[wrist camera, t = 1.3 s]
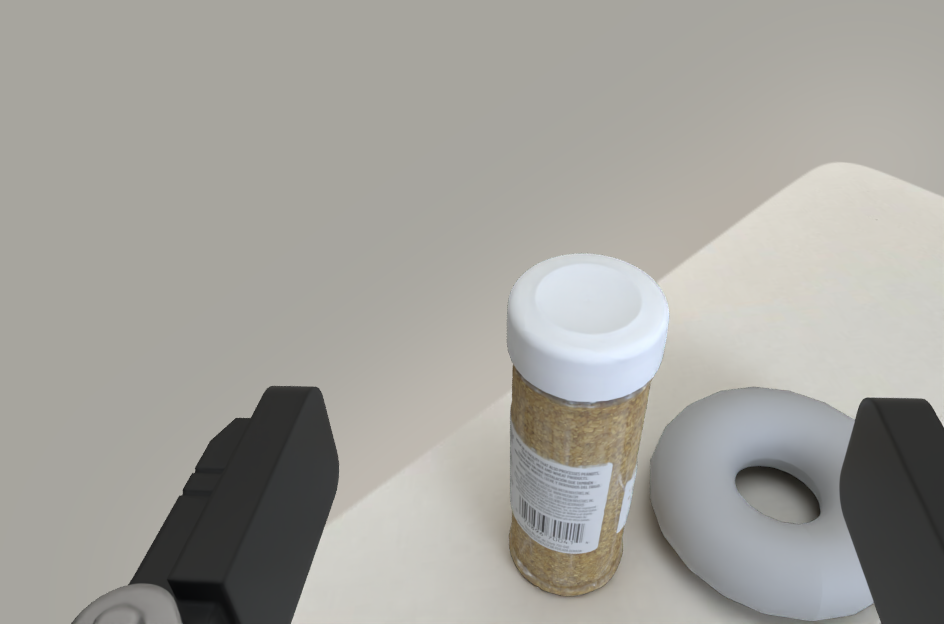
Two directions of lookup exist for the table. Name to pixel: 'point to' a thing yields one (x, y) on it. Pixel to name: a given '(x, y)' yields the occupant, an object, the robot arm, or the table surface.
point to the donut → (743, 527)
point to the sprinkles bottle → (578, 413)
